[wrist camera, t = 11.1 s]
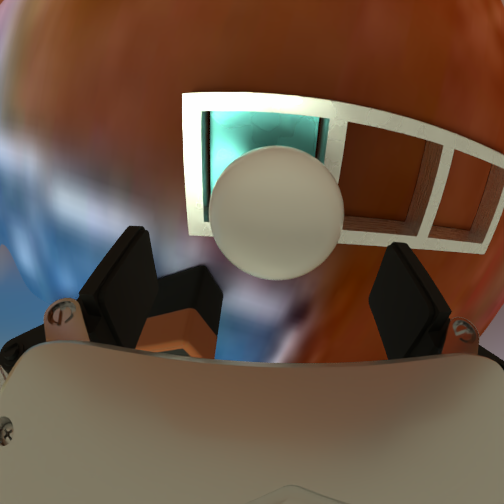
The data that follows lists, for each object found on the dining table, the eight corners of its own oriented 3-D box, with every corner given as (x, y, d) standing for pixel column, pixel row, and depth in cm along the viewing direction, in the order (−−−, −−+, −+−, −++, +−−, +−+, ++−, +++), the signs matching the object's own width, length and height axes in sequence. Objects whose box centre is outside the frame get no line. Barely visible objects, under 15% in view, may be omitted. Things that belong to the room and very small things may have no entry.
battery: (148, 280, 27) (114, 361, 19) (205, 261, 25) (182, 352, 17) (170, 308, 29) (147, 387, 21) (225, 294, 27) (213, 382, 19)
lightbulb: (254, 216, 22) (248, 325, 13) (211, 148, 19) (163, 221, 10) (327, 182, 20) (377, 276, 11) (290, 107, 17) (325, 137, 8)
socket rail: (472, 241, 23) (484, 254, 20) (195, 219, 22) (188, 235, 20) (501, 153, 17) (517, 162, 15) (191, 92, 17) (182, 93, 14)
